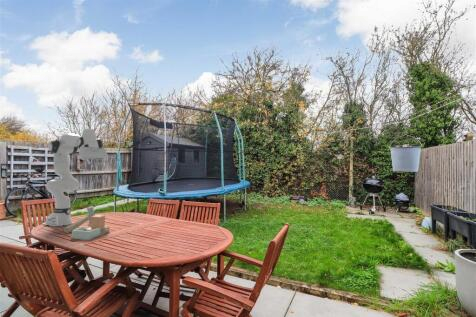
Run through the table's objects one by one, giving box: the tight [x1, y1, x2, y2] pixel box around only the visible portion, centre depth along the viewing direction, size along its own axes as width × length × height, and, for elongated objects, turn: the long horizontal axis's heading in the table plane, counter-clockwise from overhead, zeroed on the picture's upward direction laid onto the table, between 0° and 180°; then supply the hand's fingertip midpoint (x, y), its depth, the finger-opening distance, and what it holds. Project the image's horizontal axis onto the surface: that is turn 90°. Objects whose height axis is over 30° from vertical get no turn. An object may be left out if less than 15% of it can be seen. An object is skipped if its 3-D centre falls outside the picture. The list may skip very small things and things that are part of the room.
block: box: [90, 214, 106, 229], centre depth 227 cm, size 7×7×9 cm
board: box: [84, 225, 110, 236], centre depth 225 cm, size 14×12×4 cm
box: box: [71, 226, 101, 241], centre depth 213 cm, size 14×12×6 cm
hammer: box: [63, 205, 96, 234], centre depth 236 cm, size 16×5×30 cm
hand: (96, 164), depth 216 cm, fingers open, 8 cm apart
